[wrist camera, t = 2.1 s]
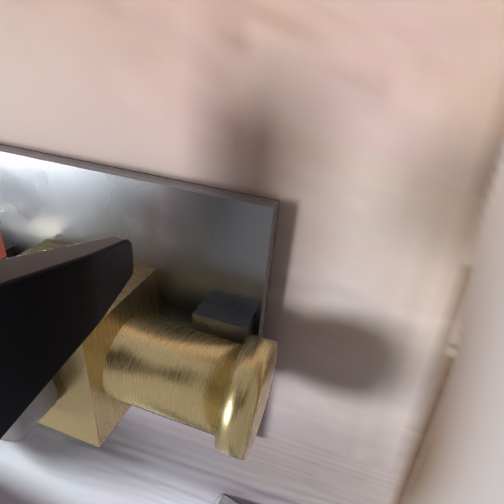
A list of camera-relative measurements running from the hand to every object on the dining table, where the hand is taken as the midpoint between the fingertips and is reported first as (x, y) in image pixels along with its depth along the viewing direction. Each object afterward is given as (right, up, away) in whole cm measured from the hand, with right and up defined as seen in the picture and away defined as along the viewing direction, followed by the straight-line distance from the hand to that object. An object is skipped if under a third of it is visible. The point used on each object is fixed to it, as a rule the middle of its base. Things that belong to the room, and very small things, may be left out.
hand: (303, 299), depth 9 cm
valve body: (-8, -1, +12) cm, 14 cm away
